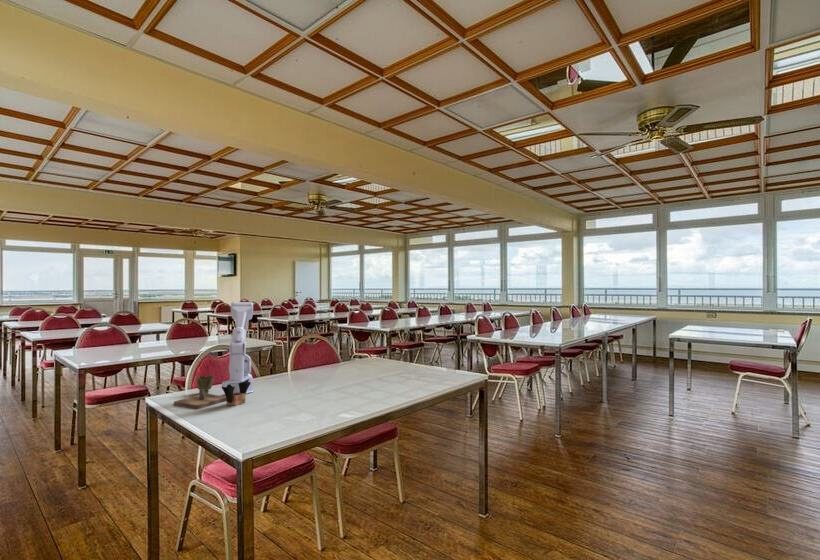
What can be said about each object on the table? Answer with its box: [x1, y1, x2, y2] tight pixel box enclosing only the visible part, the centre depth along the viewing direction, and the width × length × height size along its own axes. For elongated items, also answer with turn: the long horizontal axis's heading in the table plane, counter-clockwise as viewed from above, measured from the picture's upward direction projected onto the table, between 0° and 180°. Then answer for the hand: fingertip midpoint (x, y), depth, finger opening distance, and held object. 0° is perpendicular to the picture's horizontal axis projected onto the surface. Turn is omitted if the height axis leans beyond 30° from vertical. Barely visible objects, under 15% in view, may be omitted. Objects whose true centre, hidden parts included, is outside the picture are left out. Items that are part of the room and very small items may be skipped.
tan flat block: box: [173, 389, 227, 410], centre depth 187 cm, size 16×14×6 cm
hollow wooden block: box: [226, 392, 246, 407], centre depth 187 cm, size 5×5×4 cm
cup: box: [196, 374, 214, 394], centre depth 203 cm, size 8×7×8 cm
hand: (236, 400), depth 187 cm, fingers open, 7 cm apart
